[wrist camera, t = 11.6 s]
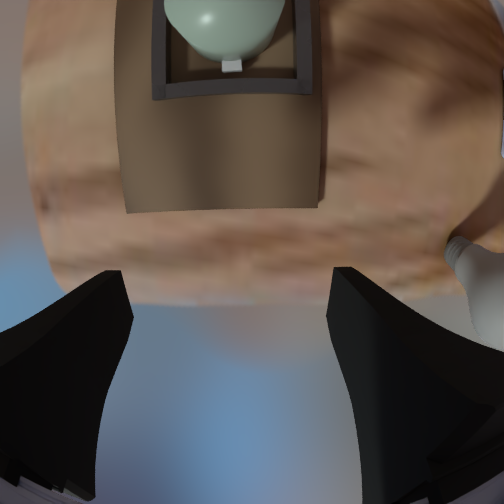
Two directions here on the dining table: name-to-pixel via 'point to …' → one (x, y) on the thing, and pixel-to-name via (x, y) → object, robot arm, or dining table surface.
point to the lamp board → (214, 125)
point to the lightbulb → (480, 286)
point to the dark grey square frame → (295, 86)
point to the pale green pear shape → (226, 27)
